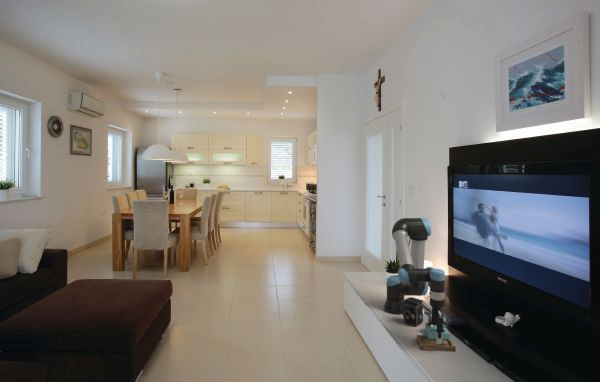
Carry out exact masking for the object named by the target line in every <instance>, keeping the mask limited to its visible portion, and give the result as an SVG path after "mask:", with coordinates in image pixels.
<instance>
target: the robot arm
mask: <svg viewBox="0 0 600 382" xmlns="http://www.w3.org/2000/svg"><path fill="white" fill-rule="evenodd" d="M431 235H432V227H431V223H430V221H429V219H427V218H426V217H425V218H424V217H409V218H408V217H404V218H400V219H398V220H397V221H396V222H395V223H394V224H393V226H392V230H391V237H392V239H393V240H394V243H395V246H396V252H397V257H398V258H397V259H398V263H399V266H400V268H398V270H397V274H393V275H389V276H388V277H387V278H386V300H385V302H384V305H383V310H384V312H387V313H388V314H393V315H403V312H402V310H404V300H405V296H407V297H408V296H409V297H411V296H413V297H414V296H415V297H416V296H418V297H421V296H423V297H424V296H426V295H427V293H428V294H429V306H430V307H431V312H432V324H433V328H437V331H436V344H442V333H443V328H444V313H443V310H442V308H445V306H446V305H445V304H446V299H445V298H446V286H445V285H446V283H445V281H446V280H445V279H446V276H445V275H446V272H445V270H443V269H441V268H434V267H431V266H427V267H425V250H426V249H425V246H426V241H428V238H429V237H430V236H431ZM408 239H409V240H411V241H410V242H411V243H410V245H409V240H408ZM424 267H425V268H424Z"/></svg>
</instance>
